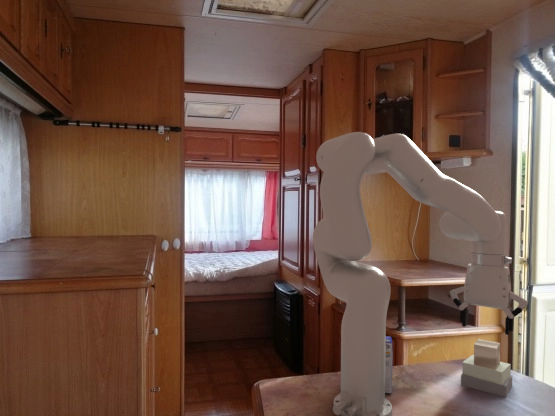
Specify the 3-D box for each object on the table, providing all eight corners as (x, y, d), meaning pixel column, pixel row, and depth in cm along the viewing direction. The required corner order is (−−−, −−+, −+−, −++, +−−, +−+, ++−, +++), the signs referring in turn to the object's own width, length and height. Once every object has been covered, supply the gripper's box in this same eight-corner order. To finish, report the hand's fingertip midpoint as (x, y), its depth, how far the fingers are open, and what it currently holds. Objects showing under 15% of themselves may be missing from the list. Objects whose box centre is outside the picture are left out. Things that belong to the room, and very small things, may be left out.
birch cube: (496, 369, 99) (496, 348, 98) (473, 364, 102) (474, 344, 101) (499, 362, 103) (500, 342, 102) (478, 358, 106) (478, 338, 105)
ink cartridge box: (391, 384, 102) (392, 326, 102) (393, 394, 97) (393, 333, 97) (351, 380, 104) (351, 324, 104) (350, 390, 99) (351, 330, 99)
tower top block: (501, 385, 97) (501, 372, 97) (462, 374, 103) (462, 362, 103) (510, 376, 102) (510, 364, 102) (472, 366, 108) (472, 354, 108)
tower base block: (506, 399, 96) (506, 386, 96) (460, 387, 102) (460, 375, 102) (512, 387, 102) (512, 375, 102) (469, 376, 109) (469, 365, 109)
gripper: (530, 262, 100) (528, 333, 100) (455, 256, 110) (453, 319, 110) (526, 265, 94) (524, 340, 94) (447, 258, 104) (445, 325, 104)
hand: (485, 329), depth 102 cm, fingers open, 9 cm apart
